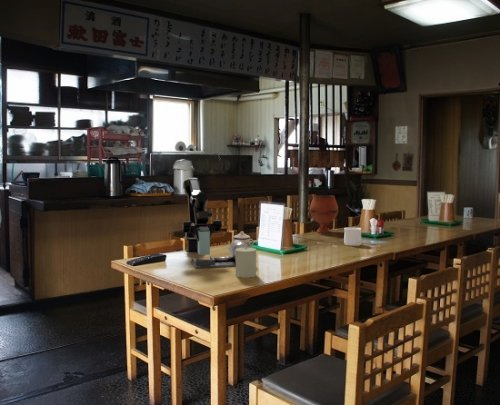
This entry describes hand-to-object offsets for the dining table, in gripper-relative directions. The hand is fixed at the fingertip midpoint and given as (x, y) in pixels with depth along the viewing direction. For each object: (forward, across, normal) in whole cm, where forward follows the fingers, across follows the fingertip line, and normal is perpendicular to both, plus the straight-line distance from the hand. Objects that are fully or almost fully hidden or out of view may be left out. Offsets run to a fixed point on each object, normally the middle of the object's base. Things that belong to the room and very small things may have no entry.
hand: (204, 240), depth 231 cm
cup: (-13, +93, +30) cm, 99 cm away
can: (+26, +14, -9) cm, 30 cm away
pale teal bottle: (+4, 0, +6) cm, 7 cm away
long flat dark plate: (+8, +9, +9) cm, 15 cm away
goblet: (-46, +96, +64) cm, 124 cm away
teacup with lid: (-8, +25, +25) cm, 36 cm away
